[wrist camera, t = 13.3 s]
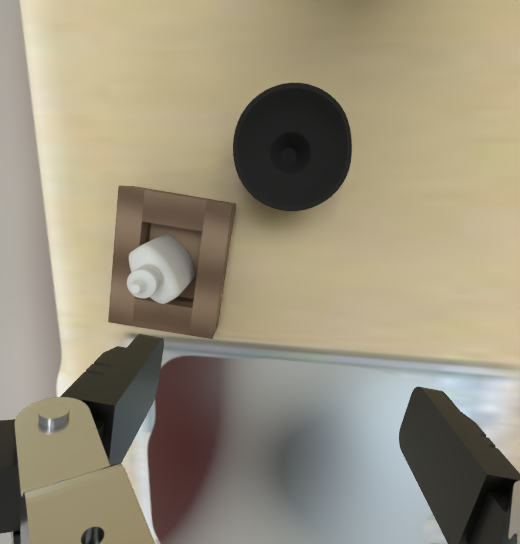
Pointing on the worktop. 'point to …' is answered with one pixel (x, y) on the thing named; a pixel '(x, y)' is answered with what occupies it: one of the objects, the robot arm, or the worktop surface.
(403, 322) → the worktop surface
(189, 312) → the recessed rectangular tray
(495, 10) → the worktop surface
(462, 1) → the worktop surface
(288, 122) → the pen holder
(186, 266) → the eye dropper bottle
